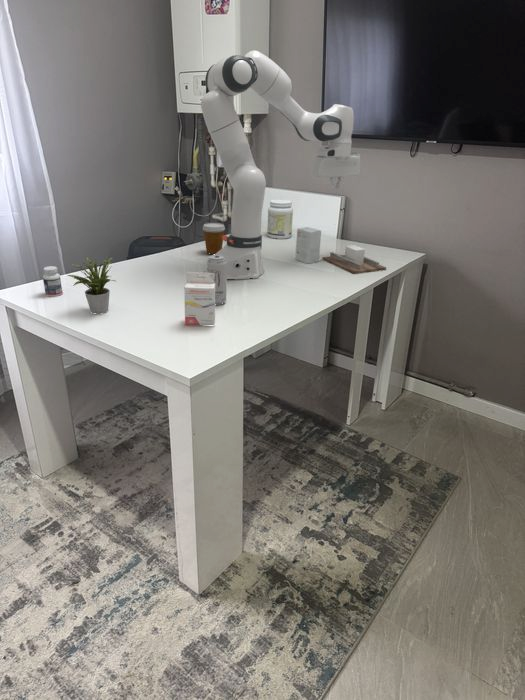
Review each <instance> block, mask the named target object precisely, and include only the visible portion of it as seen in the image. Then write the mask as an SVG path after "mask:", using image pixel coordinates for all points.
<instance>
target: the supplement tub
mask: <svg viewBox="0 0 525 700" xmlns="http://www.w3.org/2000/svg"><path fill="white" fill-rule="evenodd" d="M269 205H270V206H269V207H268V208H267V228H266V229H267V230H266V231H267V232H266V234H267V236H268V237H269V238H271V239H275V238H277V239H276V240H286V239H289V238H291V237H292V235H293V234H292V233H293V217H294V216H293V215H294V209H293V207H292V206H293V205H292V200H288V199H271V200H270V201H269Z"/></svg>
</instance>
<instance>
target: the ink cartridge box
mask: <svg viewBox="0 0 525 700" xmlns="http://www.w3.org/2000/svg"><path fill="white" fill-rule="evenodd" d="M185 274H186V275H185V276H186V277H185V278H186V282H185V285H184V325H214V324H215V322H216V305H215V282H214V277H215V274H214V273H205V272H195V271H193V272H192V271H187V272H185ZM199 276H200V278H198V277H199ZM201 277H204V278H201ZM215 325H216V324H215ZM215 325H214V326H215Z"/></svg>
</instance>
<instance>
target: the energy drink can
mask: <svg viewBox="0 0 525 700" xmlns="http://www.w3.org/2000/svg"><path fill="white" fill-rule="evenodd" d="M224 258H225V257H224V256H222V255H209V256H208V259H207V260H206V268H207V273H214V274H215V277H214V282H215V304H222V303H224V302H226V301H227V280H226V261H225V259H224ZM224 304H225V303H224ZM222 305H223V304H222Z"/></svg>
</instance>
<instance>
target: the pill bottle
mask: <svg viewBox="0 0 525 700" xmlns="http://www.w3.org/2000/svg"><path fill="white" fill-rule="evenodd" d="M43 273H44V274H43V275H42V281H43V287H44V293H45V296H47V297H49V298H50V297H51V298H53V297H59V296H61V295H63V293H64V291H63V287H62V280H61V275H60V274H59V273H58V267H57V266H53V265H51V266H50V265H49V266H44V268H43Z"/></svg>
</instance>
